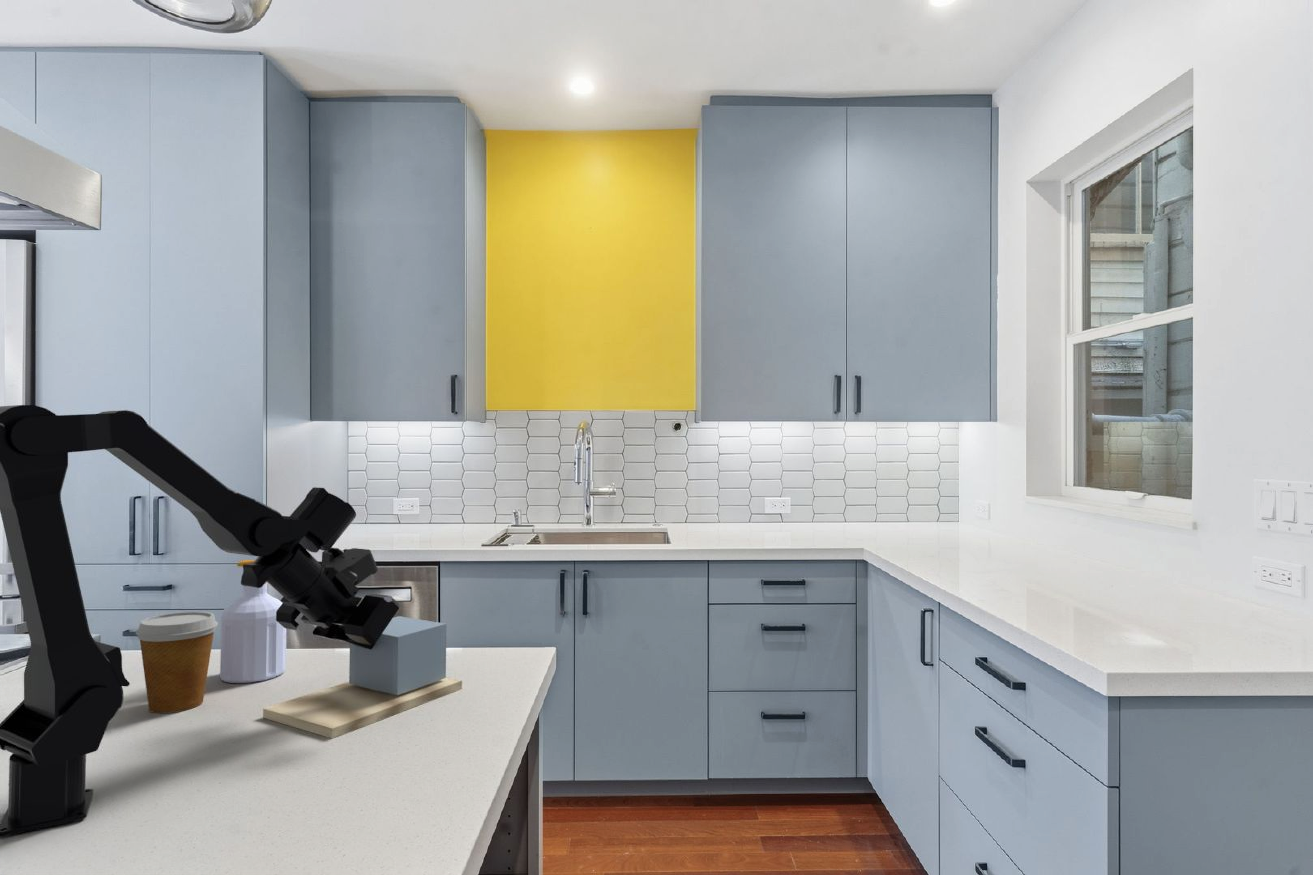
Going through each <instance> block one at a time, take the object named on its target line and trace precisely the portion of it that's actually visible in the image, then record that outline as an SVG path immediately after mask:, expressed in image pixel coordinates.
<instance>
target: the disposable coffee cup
mask: <svg viewBox="0 0 1313 875" xmlns="http://www.w3.org/2000/svg"><path fill="white" fill-rule="evenodd" d="M215 617H216V616H215V614H214V613H213V612H209V611H183V612H181V611H180V612H171V613H163V614H157V615H154V616H150V617H147V618H144V619H142V620H141V621H140V623H139V626H138V629H136V631H135V635H136V636H137V639H138V640H139V642H140V644H139V645H140V650H141V659H142V666H143V672H144V674H143V675H144V681H145V689H146V690H145V691H146V696H147V705H148V711H149V712H151V713H156V714H169V713H177V712H183V711H187V710H190V709H193V708H196V707H198V706H200V705H202V704H203V703H204V699H205V698H204V696H205V689H206V684H207V676H208V671H209V665H210V661H211V660H210V659H211V652H212V647H213V640H214V633H215V631H216V629H217V627H218V625H219V623H218V621H216V618H215Z"/></svg>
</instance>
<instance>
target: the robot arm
mask: <svg viewBox="0 0 1313 875" xmlns="http://www.w3.org/2000/svg"><path fill="white" fill-rule="evenodd" d="M99 450H101V451H102V450H105V451H106V452H108V453H109V454H110V455H113V456H114V457H115V458H116V459H118V460H119V461H121V462H122V463H124V464H125V465H127V467H129V468H130V469H132V470H133V471H134V472H136V473H137V474H138V475H140V476H141V477H142V478H144V479H145V480H146V481H148V482H150V483H151V484H152V485H153V486H155V487H156V488H157V489H159V490H160V491H162V493H164V494H166V495H167V496H168V497H170V498H172V499H173V500H174V501H176V502H177V503H178V504H179V505H181V506H182V507H183V508H185V509H186V510H188V511H189V512H190V513H191V514H192V515H193V516H194V517H195V519H196V521H197V522H198V524H199V526H200V528H201V530H202V532H204V534H206V536H207V537H208V538H209V539H210V540H211V541H212V542H213V543H214V545H216V546H217V547H218V548H219V549H220V550H221V551H223V552H226V553H227V554H235V555H244V556H252V557H257V558H255V559H254V560H255V561H254V562H253V563H251V564H244V565H243V566H242V575H241V579H240V585H241V586H242V587H243V586H249V587H256V588H261V587H262V586H263V585H264V584H265V583H266V581H267V584H268V585H270V586H271V587H272V588H273V589H274V590H276V592H277V593H279V594H280V595H281V596H282V598H281V599H280V600H279V601H281V602H282V605H281V606H280V607H279V608H278V610H277V611H276V621H277V622H278V623H279V624H281V625H282V626H283V627H284V628H286V630H287V629H288V630H291V631H292V630H293V631H297V630H298V629H299V628H300V624H299V622H297V621H296V620H297V618H298V617H299V616H300V615H301V614H302V617H300V620H301V621H302V622H303V623H305V624H307V625H309V626H311V625H312V626H313V627H314V629H313V630H312V635H313V636H316V637H320V638H325V639H328V640H333V641H336V642H339V643H343V644H348V645H349V646H350V645H354V646H358V647H362V648H365V649H370V650H371V649H372V648H373V647H374V645H375V642H377V640H378V639H379V637H380V636H381V634H382V633H383V632H384V630H385V629H386V627H387V626H388V624H389V623H390V621H391V620H392V618H394V617H395V615H396V614H397V612H398V611H399V609H400V604H399V603H398V602H397V600H396V599H395V598H394V597H393V596H392V595H387V594H386V595H385V594H381V593H380V594H379V593H369V594H365V595H364V597H360V596H356V595H357V594H358V592H359V591H360V589H359V588H358V587H357V586H358V585H359V584H361V583H362V582H363V581H365V580H366V579H368V578H369V577H370V576H371V575H375V574H376V573H378V571H379V568H378V566H377V563H376V561H375V558H374V556H373V554H372V550H370V549H367V548H357V547H353V548H349V549H348V548H344V549H343V550H341V549H340V548H339V547H333V546H334V545H335V544H336V543H337V541H338V540H339V539H340V537H341V536H342V535H343V533H344V532H345V531H346V530H347V529H348V527H349V526H350V525H351V524H352V522H353V521H354V519H356V517H357V512H356V510H355V509H354V507H353V506H352V505H351V504H350V503H349V502H347V501H344V500H343V499H342V498H340V497H339V496H337V495H335V494H333V493H331V492H329V491H327V490H326V489H325V487H315V486H313V487H312V488H311V489H310V490H309V492H308V493H307V494H306V496H305V498H304V499H303V500H302V502H300V504H299V505H298V506H297V507H296V508H295V509H294V511H292V513H291V514H290V515H288V516H287V515H282V514H281V513H280V512H279V511H277V510H276V509H274V508H272V506H271V507H270V506H269V505H267V504H265V503H263V502H262V501H260V500H258V499H255V498H252V497H249V496H247V495H244V494H242V493H239V492H237V491H235V490H233V489H231V488H229V487H227V485H225V484H224V483H222V482H221V481H220V480H219V479H217V477H215V476H214V475H212V474H211V473H210V472H209V471H207V470H206V469H205V468H204V467H202V466H201V465H200V464H199V463H197V462H196V461H195V460H194V459H192V458H191V457H190V456H188V455H187V454H186V453H184V452H183V450H181V449H180V448H178V447H177V446H176V445H175V444H173V443H172V442H171V441H170V440H168V439H167V438H166V437H165V436H163V435H162V434H161V433H159V432H158V431H157V430H156V429H154V428H153V427H152V426H151V425H149V424H148V422H147V421H146V420H145V418H143V416H142V415H141V414H139V413H137V412H135V411H133V410H132V411H131V410H128V409H124V410H121V409H120V410H108V411H107V410H106V411H101V412H99V413H89V414H88V413H84V414H63V415H62V414H61V415H58V414H56V413H54V412H52V411H51V410H49V409H48V408H46V407H43V406H39V405H34V404H19V405H18V404H16V405H1V406H0V516H1V520H2V525H3V528H4V533H5V538H6V544H7V546H8V550H9V551H8V552H9V555H10V559H11V563H12V564H11V565H12V568H13V573H14V576H15V581H16V586H17V589H18V593H19V597H20V602H21V607H22V611H23V615H24V620H25V624H26V629H27V632H28V637H29V640H30V650H29V653H28V657H27V659H26V660H27V661H26V665H25V668H24V672H23V700H22V701H20V703H19V704H18V705H17V706H16V707H15V708H14V709H12V711H11V712H10V713H9V714H8V715H7V716H6V717H5V718H4V719H3V720H2V721H1V722H0V750H2V751H7V752H9V753H12V754H11V755H10V756H9V758H8V762H9V763H8V797H7V799H8V805H7V806H8V807H7V809H6V811H5V813H4V815H3V817H2V819H1V820H0V838H1V837H6V836H11V835H16V834H20V833H24V832H30V831H34V830H35V831H36V830H39V829H43V828H48V827H53V826H54V827H55V826H58V825H63V824H64V825H65V824H67V823H72V822H77V821H78V822H79V821H81V820H84V819H86V818H88V817H87V816H88V813H89V809H90V806H91V803H92V799H93V795H94V788H86V773H87V772H86V770H87V768H86V767H87V755H88V754H91V753H95V752H96V751H99V747H100V745H101V743H102V740H103V738H104V735H105V732H106V730H107V727H108V724H109V722H110V721H111V720H112V719H113V718H114V717H115V715H116V714H117V712H118V711H119V709H121V708H122V707H123V703H124V689H123V687H129V686H130V685H131V683H130V681H128V680H127V678H126V677H125V674H124V671H123V656H122V655H123V654H122V652H121V648H120V647H118V646H116V645H111V644H107V643H103V642H100V641H97V640H95V639H94V638H93V636H92V634H91V631H90V627H89V622H88V617H87V612H86V609H85V604H84V599H83V596H82V595H83V594H82V591H81V590H82V589H81V585H80V581H79V576H78V572H77V567H76V562H75V559H74V554H73V550H72V544H71V541H70V536H69V532H68V527H67V526H68V525H67V521H66V518H65V512H64V509H63V508H64V507H63V504H62V498H61V497H62V489H63V486H64V482H65V478H66V475H67V471H68V469H69V468H68V467H69V453H78V452H79V453H81V452H89V451H99ZM320 550H321V551H322V552H321V563H320V562H319V561H318V560H317V559H316V558H315V557H314V556H313V554H311V553H318V552H319V551H320ZM310 552H311V553H310Z"/></svg>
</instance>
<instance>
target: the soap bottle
mask: <svg viewBox="0 0 1313 875" xmlns="http://www.w3.org/2000/svg"><path fill="white" fill-rule="evenodd" d="M255 560H256V559H251V560H250V559H249V560H241V561H239V562H237V564H236V566H237V567H243V565H244V564H251V563H253V562H254V561H255ZM267 587H268V582H267V581H266V583H265V584H264V585H263V586H262V587H261V588H256V587H249V586H243V585H242V594H241V596H240V597H238V598H236V600H233V601H232V602H231V603H229V604H228V605H227V606H225V608H224V609H223V611H222V613H221V616H220V620H221V621H220V658H219V660H220V661H219V662H220V663H219V664H220V666H219V667H220V668H219V672H220V673H219V678H220V680H222V682H226V683H230V684H231V683H232V684H248V683H257V681H258V682H263V681H267V680H271V679H274V678H276V676H277V677H279V676H281V675H282V674H283V673H285V671H286V668H287V628H284V627H283V626H282V625H281V624H279V623H278V622H277V621H276V611H277V610H278V608H279V607H280V606H281V605H282V602H281V601H280V600H279V598H276V597H274V596H272V595H270V594H269V593H268V590H267V589H268V588H267Z"/></svg>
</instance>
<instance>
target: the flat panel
mask: <svg viewBox="0 0 1313 875" xmlns="http://www.w3.org/2000/svg"><path fill="white" fill-rule="evenodd" d="M462 689H463V680H462V679H457V678H451V677H447V676H446V678H444V679H442V680H439V681H436V682H433V683H430V684H428V685H425V686H422V687H419V688H416V689H414V690H411V691H408V692H405V693H402V694H400V695H394V694H390V693H386V692H382V691H378V690H373V689H369V688H365V687H361V686H357V685H352V684H349V681H347V682H344V683H339V684H337V685H334V686H330V687H327V688H324V689H321V690H318V691H315V692H314V691H313V692H311V693H308V694H305V695H302V696H299V697H296V698H292V699H288V700H286V701H283V702H280V703H276V704H273V705H270V706H267V707H264V708H262V718H263V719H266V720H269V721H273V722H276V723H280V724H283V725H286V726H289V727H293V728H295V729H299V730H301V731H302V730H303V731H307V732H310V733H312V734H317V735H320V736H324V737H327V738H329V739H335V738H337V737H340V736H342V735H346V734H348V733H349V732H353V731H356V730H359V729H360V728H363V727H366V726H369V725H371V724H374V723H377V722H379V721H381V720H384V719H387V718H389V717H392V716H395V715H398V714H400V713H402V712H405V711H408V710H410V709H412V708H415V707H418V706H420V705H421V706H422V705H423V704H426V703H428V702H431V701H434V700H437V699H438V698H442V697H443V696H447V695H449V694H451V693H454V692H456V691H459V690H462Z"/></svg>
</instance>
